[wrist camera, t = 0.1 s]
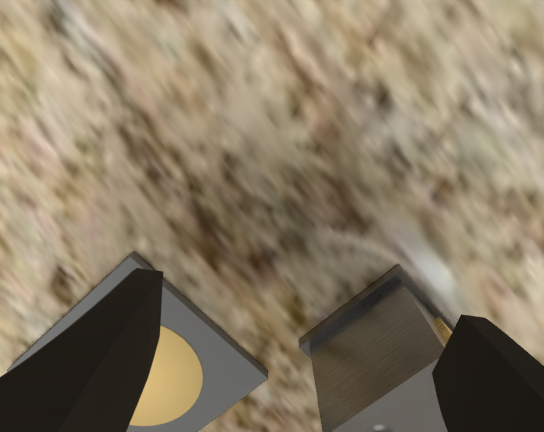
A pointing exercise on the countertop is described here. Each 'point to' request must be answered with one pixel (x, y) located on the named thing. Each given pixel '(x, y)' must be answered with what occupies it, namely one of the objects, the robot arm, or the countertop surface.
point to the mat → (177, 361)
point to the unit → (380, 359)
